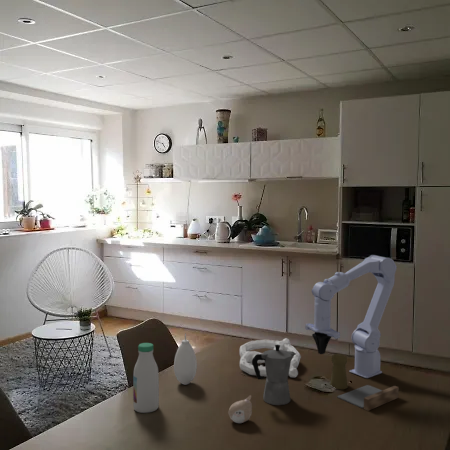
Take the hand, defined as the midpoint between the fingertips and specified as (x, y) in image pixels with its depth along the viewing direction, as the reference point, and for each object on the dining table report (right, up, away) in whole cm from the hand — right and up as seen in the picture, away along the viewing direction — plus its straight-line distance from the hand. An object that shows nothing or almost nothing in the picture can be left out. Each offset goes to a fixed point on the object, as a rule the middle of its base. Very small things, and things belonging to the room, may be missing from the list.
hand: (321, 353), depth 172 cm
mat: (+11, -10, -15) cm, 21 cm away
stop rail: (+15, -11, -20) cm, 27 cm away
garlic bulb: (-30, -11, -32) cm, 46 cm away
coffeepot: (-19, -11, -17) cm, 28 cm away
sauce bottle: (-49, -10, -5) cm, 50 cm away
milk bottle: (-59, -11, -24) cm, 65 cm away
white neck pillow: (-17, -9, +14) cm, 24 cm away
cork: (+5, -10, -6) cm, 12 cm away
